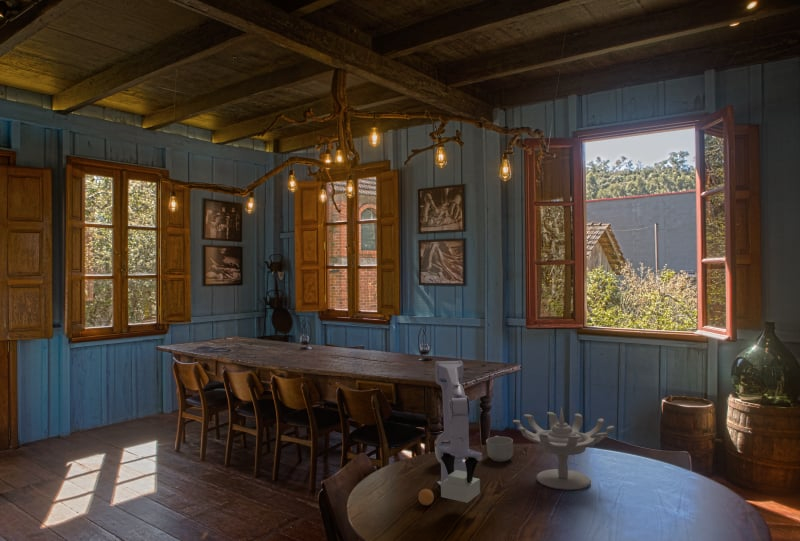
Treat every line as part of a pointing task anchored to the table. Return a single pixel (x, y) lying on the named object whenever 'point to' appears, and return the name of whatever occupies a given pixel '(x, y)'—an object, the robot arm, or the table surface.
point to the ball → (426, 497)
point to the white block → (460, 487)
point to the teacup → (500, 448)
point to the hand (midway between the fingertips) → (460, 479)
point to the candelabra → (563, 448)
